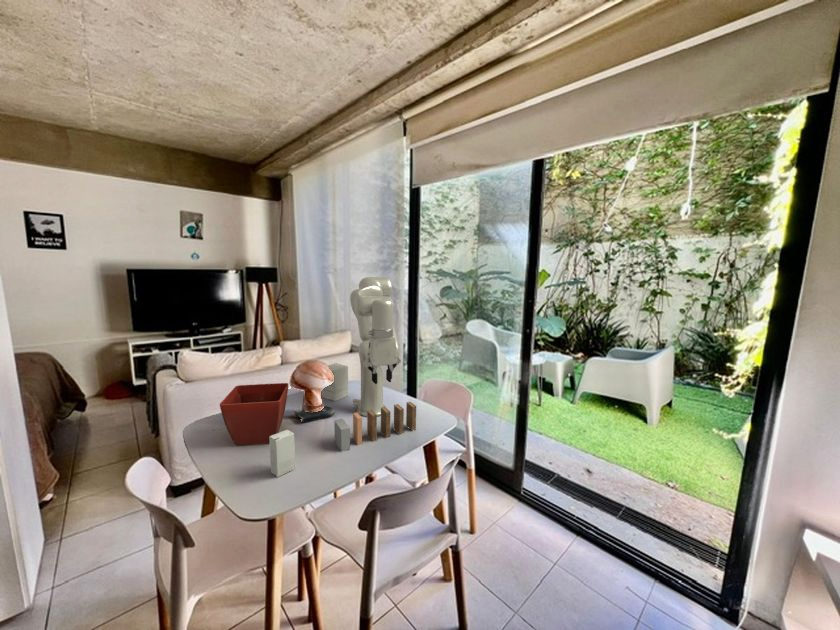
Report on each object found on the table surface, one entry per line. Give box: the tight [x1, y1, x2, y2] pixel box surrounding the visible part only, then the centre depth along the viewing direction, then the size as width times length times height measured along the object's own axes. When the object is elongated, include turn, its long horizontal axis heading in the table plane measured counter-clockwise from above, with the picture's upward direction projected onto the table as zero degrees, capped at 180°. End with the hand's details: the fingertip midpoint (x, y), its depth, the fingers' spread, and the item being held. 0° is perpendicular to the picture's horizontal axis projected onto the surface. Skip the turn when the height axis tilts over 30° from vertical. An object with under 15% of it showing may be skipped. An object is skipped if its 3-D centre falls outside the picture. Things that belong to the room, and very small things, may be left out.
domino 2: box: [380, 407, 391, 439], centre depth 130 cm, size 2×5×10 cm, turn 30°
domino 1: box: [366, 410, 378, 442], centre depth 127 cm, size 2×5×10 cm, turn 31°
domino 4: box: [405, 401, 417, 432], centre depth 135 cm, size 2×5×10 cm, turn 31°
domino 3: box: [393, 403, 405, 435], centre depth 133 cm, size 2×5×10 cm, turn 30°
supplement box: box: [321, 362, 349, 402], centre depth 165 cm, size 9×9×15 cm
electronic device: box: [294, 405, 335, 424], centre depth 144 cm, size 9×6×15 cm
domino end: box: [352, 411, 363, 446], centre depth 124 cm, size 2×5×10 cm, turn 29°
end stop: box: [333, 418, 351, 453], centre depth 122 cm, size 3×8×8 cm, turn 30°
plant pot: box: [219, 382, 289, 447], centre depth 126 cm, size 19×19×17 cm
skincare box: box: [269, 429, 296, 478], centre depth 106 cm, size 6×4×12 cm
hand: (381, 381), depth 127 cm, fingers open, 4 cm apart
